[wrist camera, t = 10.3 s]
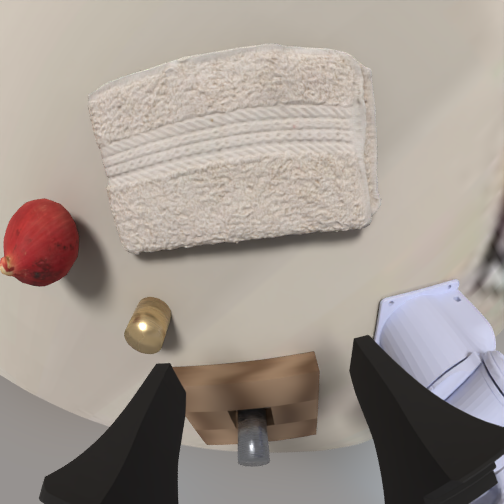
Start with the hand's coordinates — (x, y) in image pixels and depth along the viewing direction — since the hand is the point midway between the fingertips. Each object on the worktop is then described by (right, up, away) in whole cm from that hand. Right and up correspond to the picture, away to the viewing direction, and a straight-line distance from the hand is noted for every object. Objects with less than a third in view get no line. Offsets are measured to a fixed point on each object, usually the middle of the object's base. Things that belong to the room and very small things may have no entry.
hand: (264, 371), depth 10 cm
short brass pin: (-9, 0, +11) cm, 14 cm away
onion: (-15, +7, +8) cm, 18 cm away
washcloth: (-1, +11, +7) cm, 13 cm away
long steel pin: (-1, -12, +17) cm, 21 cm away
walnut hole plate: (-1, -12, +17) cm, 21 cm away
